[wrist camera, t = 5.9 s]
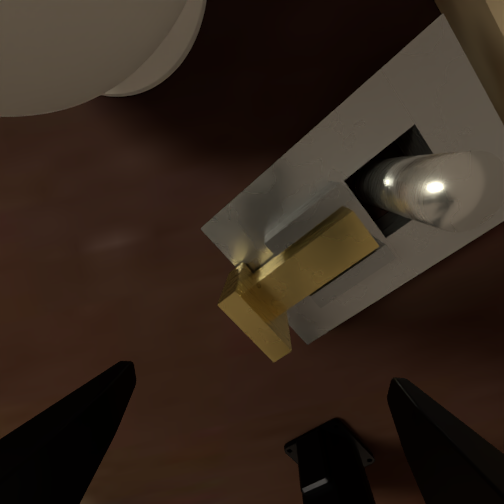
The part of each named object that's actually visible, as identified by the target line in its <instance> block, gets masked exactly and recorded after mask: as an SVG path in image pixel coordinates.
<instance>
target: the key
mask: <svg viewBox="0 0 504 504" xmlns="http://www.w3.org/2000/svg"><path fill="white" fill-rule="evenodd" d="M378 247H379V245H378V244H377V242H376V241H375V240H374V238H373V237H372V236H371V234H370V233H369V232H368V230H367V229H366V228H365V226H364V225H363V223H362V222H361V221H360V219H359V218H358V217H357V215H356V214H355V213H354V211H352V210H350V209H348V208H346V207H344V206H341V207H340V208H339V209H338V210H336V211H335V212H334V213H332V214H331V215H330V216H328V217H327V218H326V219H325V220H323V221H322V222H321V223H319V224H318V225H317V226H315V227H314V228H313V229H311V230H310V231H309V232H308V233H306V234H305V235H304V236H302V237H301V238H300V239H298V240H297V241H296V242H295V243H293V244H292V245H291V246H289V247H288V248H287V249H285V250H284V251H283V252H282V253H280V254H279V255H278V256H276V257H274V258H273V259H271V260H270V261H269V262H268V263H266V264H265V265H264V266H262V267H261V268H260V269H258V270H257V271H256V272H255V273H253V272H252V271H251V270H250V269H249V268H248V267H247V266H246V265H245V263H244V262H243V263H241V264H240V265H239V266H238V267H236V268H235V269H234V270H233V271H231V272H230V273H229V275H228V278H227V280H226V283H225V286H224V288H223V291H222V294H221V296H220V299H219V302H218V304H217V305H218V306H219V307H220V308H221V309H222V310H223V311H224V312H225V313H226V314H227V315H228V316H229V317H230V318H231V319H232V320H233V321H234V323H235V324H236V325H237V326H238V327H239V328H240V329H241V330H242V331H243V332H244V333H245V334H246V335H247V336H248V337H249V338H250V339H251V340H252V341H253V342H254V343H255V344H256V345H257V346H258V347H259V348H260V349H261V350H262V351H263V352H264V353H265V354H266V355H267V356H268V357H269V358H270V359H271V360H272V361H273V362H275V361H277V360H278V359H280V358H281V357H283V356H285V355H286V354H288V353H289V352H291V351H292V349H291V341H290V333H289V325H288V317H287V310H288V309H289V308H291V307H292V306H294V305H295V304H297V303H298V302H300V301H301V300H302V299H304V298H305V297H307V296H308V295H310V294H311V293H313V292H314V291H316V290H317V289H318V288H320V287H321V286H323V285H324V284H326V283H327V282H329V281H330V280H331V279H333V278H334V277H336V276H337V275H339V274H340V273H342V272H343V271H344V270H346V269H347V268H349V267H350V266H352V265H353V264H355V263H356V262H358V261H359V260H360V259H362V258H363V257H365V256H366V255H368V254H369V253H371V252H372V251H373V250H375V249H376V248H378Z"/></svg>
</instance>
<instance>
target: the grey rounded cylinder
mask: <svg viewBox="0 0 504 504" xmlns="http://www.w3.org/2000/svg"><path fill="white" fill-rule="evenodd" d="M355 191H356V194H357V196H358V197H359V198H360V199H361V200H362V201H363V202H365V203H367V204H370V205H373V206H376V207H379V208H381V209H384V210H387V211H390V212H393V213H396V214H398V215H401V216H404V217H407V218H410V219H413V220H415V221H418V222H421V223H424V224H427V225H430V226H432V227H435V228H438V229H441V230H444V231H448V232H463V231H468V230H471V229H474V228H476V227H478V226H480V225H482V224H483V223H485V222H486V221H488V220H489V219H490V218H491V217H492V216H493V215H494V214H495V213H496V212H497V211H498V209H499V208H500V207H501V205H502V204H503V202H504V164H503V162H502V161H501V160H500V159H499V158H498V157H496V156H495V155H493V154H491V153H489V152H485V151H462V152H451V153H440V154H428V155H417V156H406V157H395V158H383V159H375V160H372V161H370V162H368V163H367V164H365V165H364V166H363V167H362V168H361V169H360V170H359V172H358V174H357V176H356V179H355Z"/></svg>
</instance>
